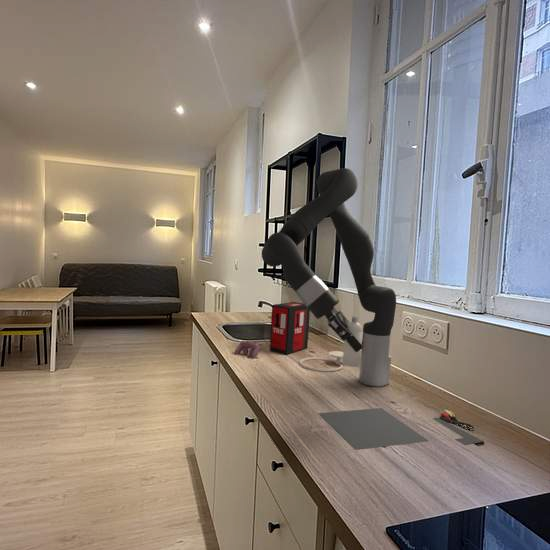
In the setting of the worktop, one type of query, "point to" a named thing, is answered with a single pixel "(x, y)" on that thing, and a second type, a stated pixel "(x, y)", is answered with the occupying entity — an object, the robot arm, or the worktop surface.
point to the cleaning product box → (289, 328)
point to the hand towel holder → (332, 353)
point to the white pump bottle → (349, 353)
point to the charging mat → (371, 428)
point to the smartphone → (461, 434)
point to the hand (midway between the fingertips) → (360, 347)
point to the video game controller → (248, 344)
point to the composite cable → (452, 418)
